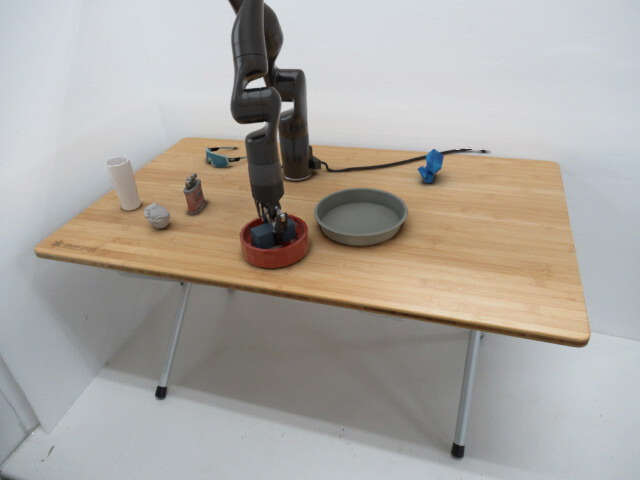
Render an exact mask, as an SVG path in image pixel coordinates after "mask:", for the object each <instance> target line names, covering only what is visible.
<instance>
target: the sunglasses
mask: <svg viewBox="0 0 640 480" xmlns="http://www.w3.org/2000/svg"><path fill="white" fill-rule="evenodd" d="M223 149H224V150H237V149H238V147H237V146H217V147H205V158H206V162H207V163H210V164H211V165H212V166H214V167H215V168H228V167H229V166H230V164H231V163H237V162H240V160H245V159H247V155H245V156H238V157H229V156H227V155H223V154H219V153H216V152H218V151H219V150H223Z"/></svg>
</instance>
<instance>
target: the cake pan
mask: <svg viewBox="0 0 640 480" xmlns="http://www.w3.org/2000/svg"><path fill="white" fill-rule="evenodd" d="M408 214H409V207H408V205H407V204H406V202H405V201H404V200H403V199H402V198H401V197H399V196H398V195H396V194H394V193H392V192H389V191H387V190H383V189H379V188H373V187H350V188H344V189H340V190H336V191H334V192H331V193H329V194H327V195H325V196H324V197H322V198H321V199H320V200H319V201H318V202H317V203H316V204H315V206H314V209H313V217H314V219H315V220H316V222H317V223H318V224H319V225H320V228H321V231H322V232H323V234H324V235H325V236H326V237H328V238H329V239H331V240H333V241H334V242H337V243H338V244H343V245H348V246H357V247H358V246H359V247H363V246H372V245H378V244H381V243H383V242H386V241H388V240H390V239H391V238H393V237H394V236H395V235H396V234H397V233H398V232H399V231H400V228H401V226H402V224H404V222H405V221H406V220H407V218H408Z"/></svg>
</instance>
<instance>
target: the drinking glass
mask: <svg viewBox="0 0 640 480" xmlns="http://www.w3.org/2000/svg"><path fill="white" fill-rule="evenodd" d="M104 167H105V170H106V173H107V176H108V179H109V181H110V182H111V186H112V187H113V190H114V191H115V194H116V196H117V198H118V200H119V201H118V202H119V203H120V206H121V208H122V210H123V211H127V212H128V211H129V212H130V211H135V210H137V209H138V208H140V207H141V204H142V203H141V199H140V196H139V191H138V187H137V183H136V177H135V173H134V169H133V167H132V163H131V161H130V158H129V156H123V155H122V156H120V155H119V156H114V157H111V158H108V159H107V160H106V161H105V162H104Z"/></svg>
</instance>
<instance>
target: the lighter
mask: <svg viewBox="0 0 640 480" xmlns="http://www.w3.org/2000/svg"><path fill="white" fill-rule="evenodd" d="M184 185H185V186H184V188H183V190H182V192H183V194H184V197H185V201H186V204H187V209H188V215H191V216H195V215H198V214H199V213H200V212H201V211H202V210H203V209H204V207H205V205H206V199H205V196H204V192H203V187H202V180H201V178H198V174H197V173H196V172H193V173H191V175H190V176H189V177H188V176H187V177H186V178H185V181H184Z"/></svg>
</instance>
